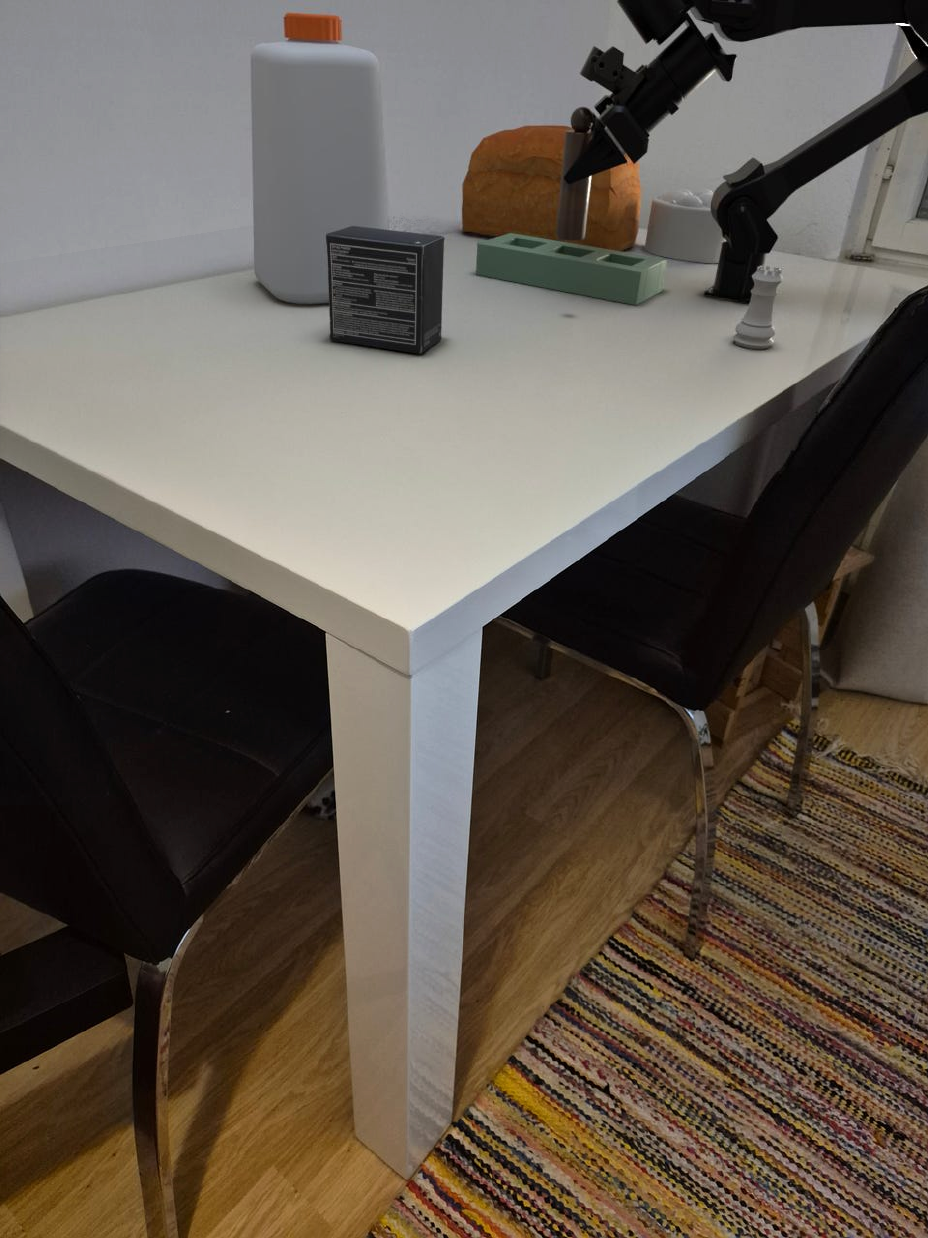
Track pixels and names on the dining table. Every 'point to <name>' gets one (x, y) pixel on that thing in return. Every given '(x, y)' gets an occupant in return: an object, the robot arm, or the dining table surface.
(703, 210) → the lumpy-topped squat cylinder
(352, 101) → the plastic bottle
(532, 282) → the green three-slot holder
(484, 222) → the bread
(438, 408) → the dining table surface
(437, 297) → the small box
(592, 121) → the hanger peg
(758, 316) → the rook chess piece
